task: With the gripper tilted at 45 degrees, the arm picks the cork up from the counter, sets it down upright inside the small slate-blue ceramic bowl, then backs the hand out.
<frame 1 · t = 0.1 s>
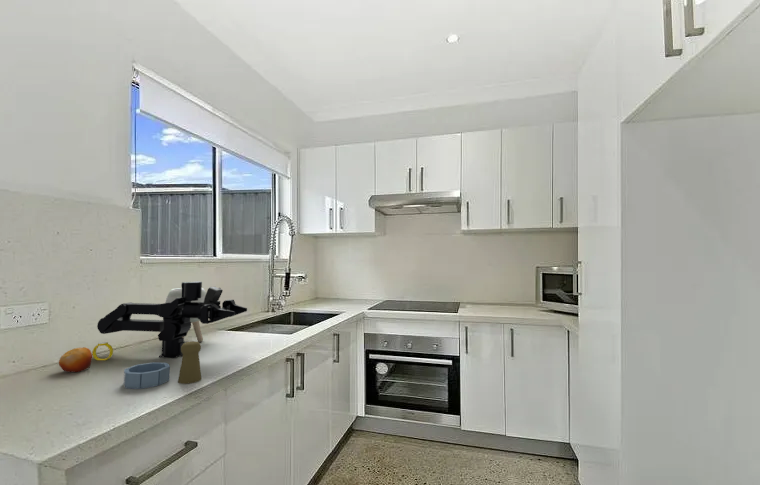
hand: (241, 311, 129), 17 cm above the worktop, tool horizontal, fingers open, 9 cm apart
fruit: (75, 371, 112), on the worktop
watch: (102, 360, 124), on the worktop
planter: (185, 342, 151), on the worktop
bowl: (146, 382, 103), on the worktop
cork: (189, 380, 105), on the worktop
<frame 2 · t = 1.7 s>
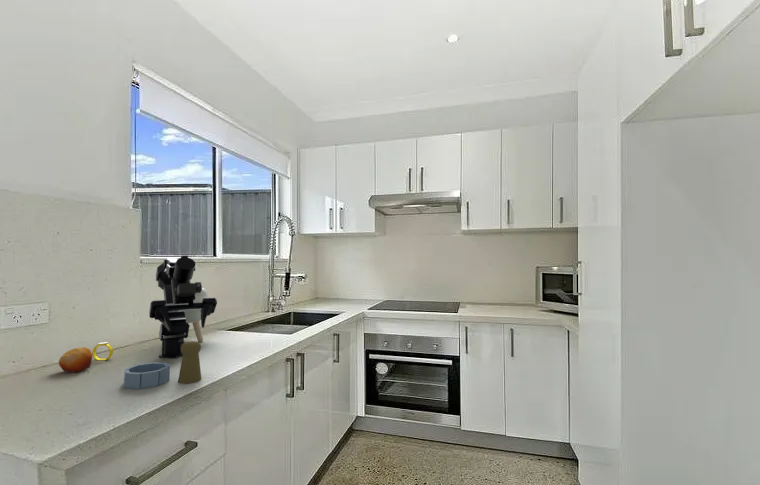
hand: (187, 328, 111), 14 cm above the worktop, tool tilted 45°, fingers open, 9 cm apart
nothing on the worktop moved.
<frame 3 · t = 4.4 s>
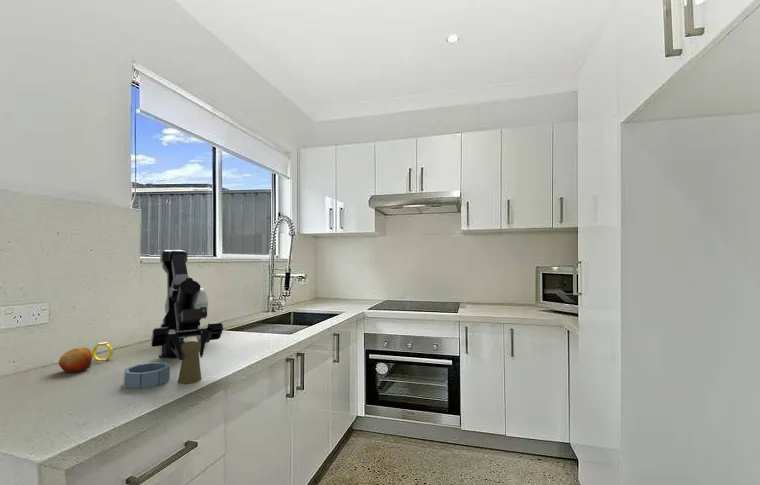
hand: (191, 358, 104), 7 cm above the worktop, tool tilted 45°, fingers closed on cork, 5 cm apart
cork: (189, 380, 105), on the worktop, touching gripper
everything else where it was.
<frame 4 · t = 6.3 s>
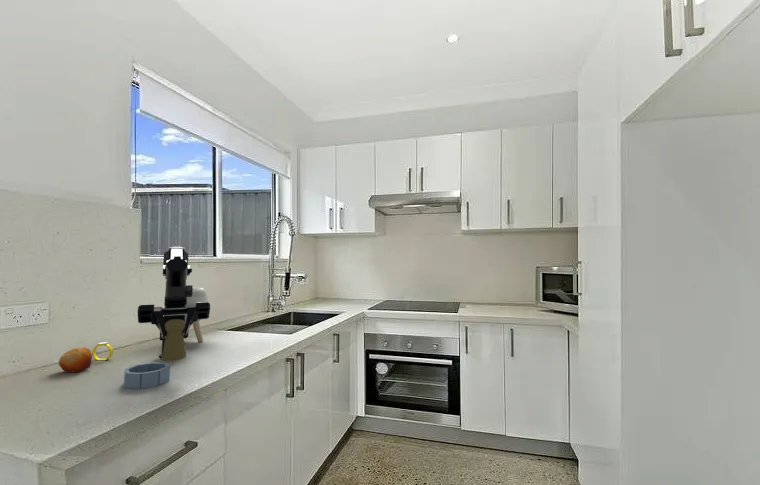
hand: (174, 335, 103), 13 cm above the worktop, tool tilted 45°, fingers closed on cork, 5 cm apart
cork: (173, 358, 104), point 6 cm above the worktop, touching gripper
everything else where it was.
when the fingers open (9 cm above the worktop, at t = 8.4 s): cork stays where it is, resting on bowl.
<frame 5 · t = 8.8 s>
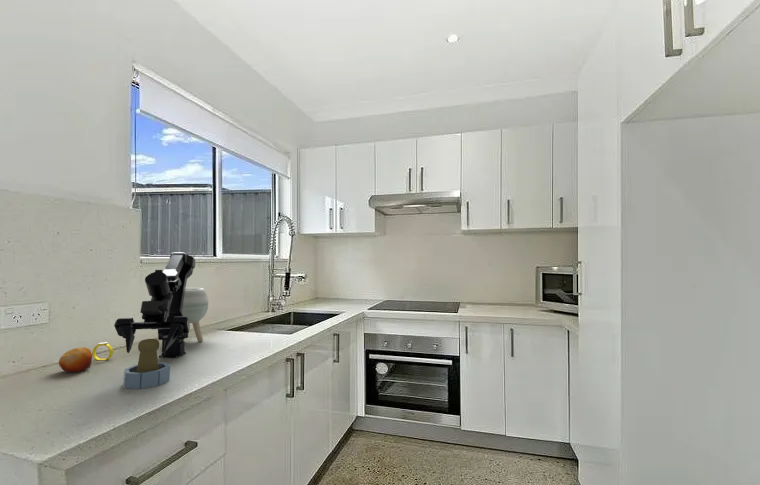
hand: (146, 351, 102), 9 cm above the worktop, tool tilted 45°, fingers open, 9 cm apart
cork: (147, 379, 103), point 1 cm above the worktop, touching bowl
everything else where it was.
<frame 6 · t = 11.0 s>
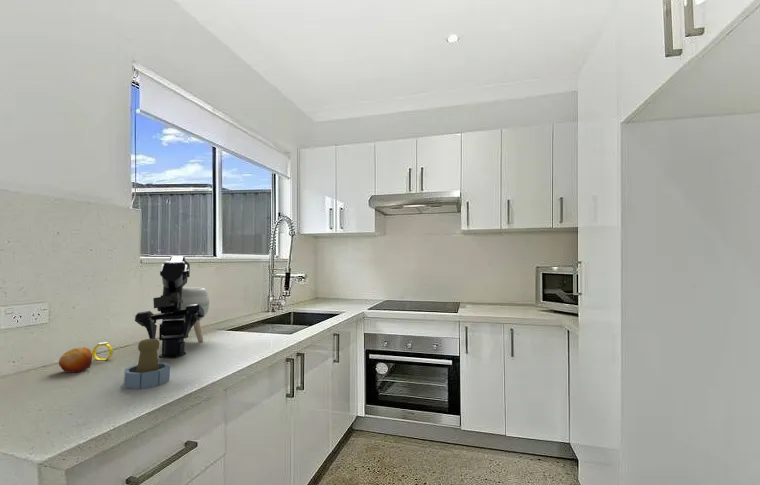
hand: (168, 340, 112), 10 cm above the worktop, tool tilted 30°, fingers open, 9 cm apart
nothing on the worktop moved.
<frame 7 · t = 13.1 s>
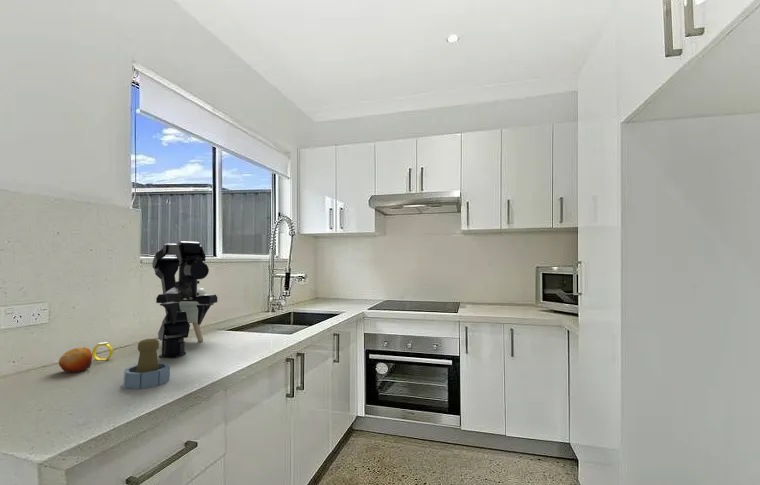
hand: (186, 324, 122), 13 cm above the worktop, tool pointing down, fingers open, 9 cm apart
nothing on the worktop moved.
at the end: cork 0.1 cm off-centre on the bowl, point 0.8 cm above the bowl's base; cork tilted 0°; the gripper is holding nothing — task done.
